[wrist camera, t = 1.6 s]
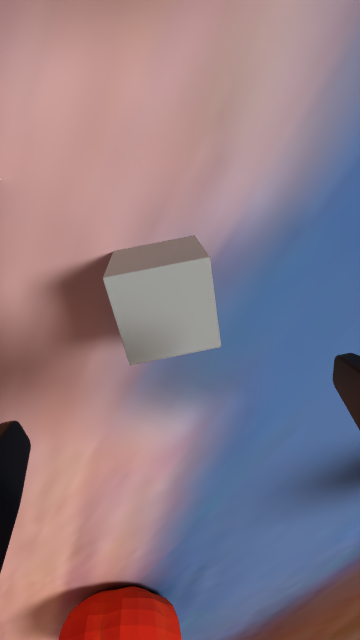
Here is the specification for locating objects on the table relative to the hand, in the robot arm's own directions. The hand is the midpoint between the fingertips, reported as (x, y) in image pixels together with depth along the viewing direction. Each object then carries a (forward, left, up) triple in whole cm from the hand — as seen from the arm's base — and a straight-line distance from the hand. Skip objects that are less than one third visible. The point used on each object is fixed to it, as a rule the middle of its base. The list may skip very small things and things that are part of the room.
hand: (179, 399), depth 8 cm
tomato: (+12, +37, -10) cm, 40 cm away
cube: (0, 0, -10) cm, 10 cm away
